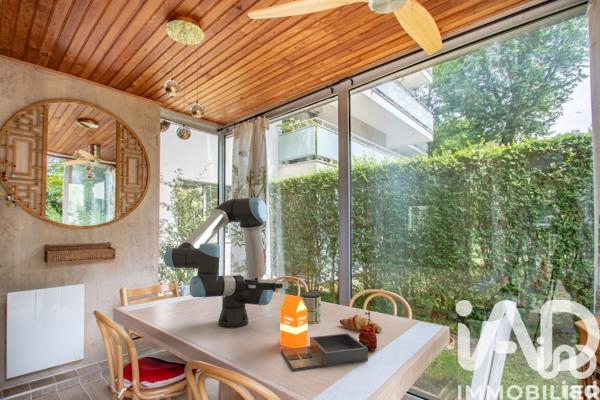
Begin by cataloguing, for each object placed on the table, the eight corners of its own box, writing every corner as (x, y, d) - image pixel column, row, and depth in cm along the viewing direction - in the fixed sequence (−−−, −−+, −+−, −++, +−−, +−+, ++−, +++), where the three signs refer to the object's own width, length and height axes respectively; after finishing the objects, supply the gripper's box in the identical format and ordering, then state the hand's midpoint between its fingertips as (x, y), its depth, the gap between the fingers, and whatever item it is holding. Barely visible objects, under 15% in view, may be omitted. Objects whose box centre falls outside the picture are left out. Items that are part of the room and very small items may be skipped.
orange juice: (292, 339, 136) (292, 293, 137) (307, 344, 130) (307, 295, 132) (279, 344, 130) (280, 296, 131) (295, 349, 124) (296, 299, 126)
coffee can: (302, 317, 168) (302, 291, 170) (321, 318, 167) (321, 291, 169) (300, 323, 158) (300, 295, 159) (320, 324, 157) (320, 295, 158)
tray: (293, 371, 105) (293, 357, 106) (281, 352, 122) (281, 340, 122) (368, 360, 114) (367, 348, 114) (347, 344, 130) (347, 333, 130)
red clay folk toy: (355, 348, 125) (355, 310, 127) (364, 343, 131) (363, 307, 132) (372, 353, 121) (371, 314, 122) (380, 348, 126) (379, 310, 127)
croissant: (383, 338, 147) (384, 321, 151) (379, 334, 139) (381, 316, 143) (341, 330, 156) (343, 314, 160) (335, 326, 149) (338, 309, 153)
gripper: (220, 291, 128) (265, 289, 140) (244, 300, 108) (295, 296, 120) (221, 273, 130) (266, 272, 141) (245, 278, 109) (295, 276, 121)
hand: (279, 283), depth 130 cm, fingers open, 13 cm apart
